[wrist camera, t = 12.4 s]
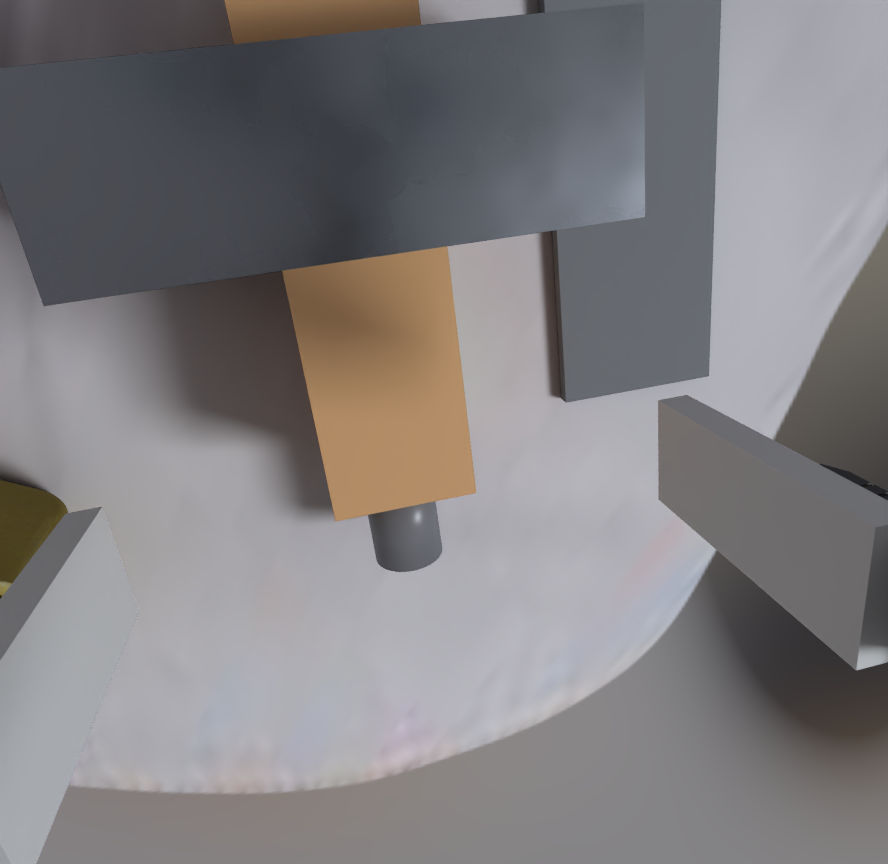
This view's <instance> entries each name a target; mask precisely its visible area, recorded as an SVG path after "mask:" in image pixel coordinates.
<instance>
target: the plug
mask: <svg viewBox="0 0 888 864" xmlns="http://www.w3.org/2000/svg"><path fill="white" fill-rule="evenodd" d="M224 1H225V5H226V10H227V15H228V19H229V24H230V29H231V33H232V38H233V43H234V44H240V43H250V42H260V41H270V40H280V39H289V38H299V37H309V36H319V35H329V34H339V33H349V32H358V31H368V30H378V29H388V28H398V27H408V26H418V25H421V20H420V12H419V3H418V0H224ZM282 272H283V277H284V282H285V286H286V291H287V296H288V300H289V305H290V310H291V315H292V319H293V324H294V329H295V333H296V338H297V343H298V347H299V352H300V357H301V361H302V366H303V371H304V375H305V380H306V385H307V389H308V394H309V399H310V404H311V408H312V413H313V418H314V422H315V427H316V432H317V436H318V441H319V446H320V450H321V455H322V460H323V464H324V469H325V474H326V479H327V483H328V488H329V493H330V497H331V502H332V507H333V511H334V516H335V521H340V520H345V519H350V518H355V517H360V516H365V515H368V517H369V523H370V528H371V533H372V538H373V544H374V549H375V554H376V559H377V562H378V564H379V565H380V566H381V567H383V568H385V569H387V570H390V571H396V572H407V571H414V570H418V569H421V568H424V567H426V566H428V565H430V564H432V563H433V562H434V561H436V560H437V559H438V558H439V556H440V555H441V553H442V543H441V536H440V530H439V523H438V516H437V509H436V502H435V501H439V500H444V499H449V498H454V497H458V496H463V495H468V494H473V493H476V487H475V478H474V470H473V461H472V453H471V444H470V436H469V427H468V419H467V410H466V402H465V393H464V385H463V376H462V368H461V360H460V351H459V343H458V334H457V326H456V317H455V309H454V300H453V292H452V283H451V275H450V266H449V258H448V249H447V246H446V247H439V248H432V249H426V250H419V251H412V252H405V253H398V254H392V255H385V256H378V257H371V258H365V259H358V260H351V261H344V262H338V263H331V264H324V265H317V266H311V267H304V268H297V269H290V270H284V271H282Z"/></svg>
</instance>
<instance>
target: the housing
mask: <svg viewBox="0 0 888 864" xmlns="http://www.w3.org/2000/svg"><path fill="white" fill-rule="evenodd" d="M0 184H1V187H2V189H3V192H4V195H5V198H6V201H7V203H8V206H9V209H10V212H11V215H12V218H13V220H14V223H15V226H16V229H17V232H18V235H19V237H20V240H21V243H22V246H23V249H24V251H25V254H26V257H27V260H28V263H29V266H30V268H31V271H32V274H33V277H34V280H35V282H36V285H37V288H38V291H39V294H40V297H41V299H42V302H43V305H44V306H47V305H54V304H61V303H68V302H74V301H81V300H88V299H95V298H101V297H108V296H115V295H122V294H128V293H135V292H142V291H149V290H155V289H162V288H169V287H176V286H182V285H189V284H196V283H203V282H209V281H216V280H223V279H230V278H236V277H243V276H250V275H257V274H263V273H270V272H277V271H284V270H290V269H297V268H304V267H311V266H317V265H324V264H331V263H338V262H344V261H351V260H358V259H365V258H371V257H378V256H385V255H392V254H398V253H405V252H412V251H419V250H426V249H432V248H439V247H446V246H453V245H459V244H466V243H473V242H480V241H486V240H493V239H500V238H507V237H513V236H520V235H527V234H534V233H540V232H547V231H554V230H561V229H567V228H574V227H581V226H588V225H594V224H601V223H608V222H615V221H621V220H628V219H635V218H642V217H645V108H644V3H634V4H625V5H615V6H605V7H595V8H585V9H575V10H565V11H556V12H546V13H536V14H526V15H516V16H506V17H496V18H487V19H477V20H467V21H457V22H447V23H437V24H427V25H418V26H408V27H398V28H388V29H378V30H368V31H358V32H349V33H339V34H329V35H319V36H309V37H299V38H289V39H280V40H270V41H260V42H250V43H240V44H230V45H220V46H211V47H201V48H191V49H181V50H171V51H161V52H151V53H142V54H132V55H122V56H112V57H102V58H92V59H82V60H73V61H63V62H53V63H43V64H33V65H23V66H13V67H4V68H0Z"/></svg>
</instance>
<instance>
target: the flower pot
mask: <svg viewBox="0 0 888 864" xmlns="http://www.w3.org/2000/svg"><path fill="white" fill-rule="evenodd" d="M67 513H68V511H67V508H66V506H65V504H64V503H63V502H62V501H61V500H60V499H59V498H57V497H56V496H54V495H53V494H51V493H49V492H47V491H43V490H39V489H35V488H31V487H26V486H22V485H19V484H15V483H11V482H7V481H3V480H0V599H1V597H2V596H3V595H4V594H5V592H6V591H7V590H8V588H9V587H10V586H11V584H12V583H13V582H14V580H15V579H16V578H17V577H18V575H19V574H20V573H21V571H22V570H23V569H24V567H25V566H26V565H27V563H28V562H29V561H30V560H31V558H32V557H33V556H34V554H35V553H36V552H37V550H38V549H39V548H40V546H41V545H42V544H43V542H44V541H45V540H46V539H47V537H48V536H49V535H50V533H51V532H52V531H53V529H54V528H55V527H56V525H57V524H58V523H59V522H60V520H61V519H62V518H63V516H64V515H65V514H67Z"/></svg>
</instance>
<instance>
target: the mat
mask: <svg viewBox="0 0 888 864" xmlns="http://www.w3.org/2000/svg"><path fill="white" fill-rule="evenodd" d="M634 3H644V108H645V217H642V218H635V219H628V220H621V221H615V222H608V223H601V224H594V225H588V226H581V227H574V228H567V229H561V230H554V231H552V242H553V260H554V277H555V295H556V312H557V329H558V347H559V364H560V382H561V399H563V400H564V401H565V402H572V401H577V400H582V399H588V398H593V397H599V396H604V395H609V394H615V393H620V392H626V391H631V390H636V389H642V388H647V387H653V386H658V385H663V384H669V383H674V382H680V381H685V380H690V379H696V378H701V377H707V376H709V356H710V325H711V295H712V264H713V234H714V203H715V173H716V142H717V112H718V81H719V51H720V20H721V0H539V13H546V12H556V11H565V10H575V9H585V8H595V7H605V6H615V5H625V4H634Z"/></svg>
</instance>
